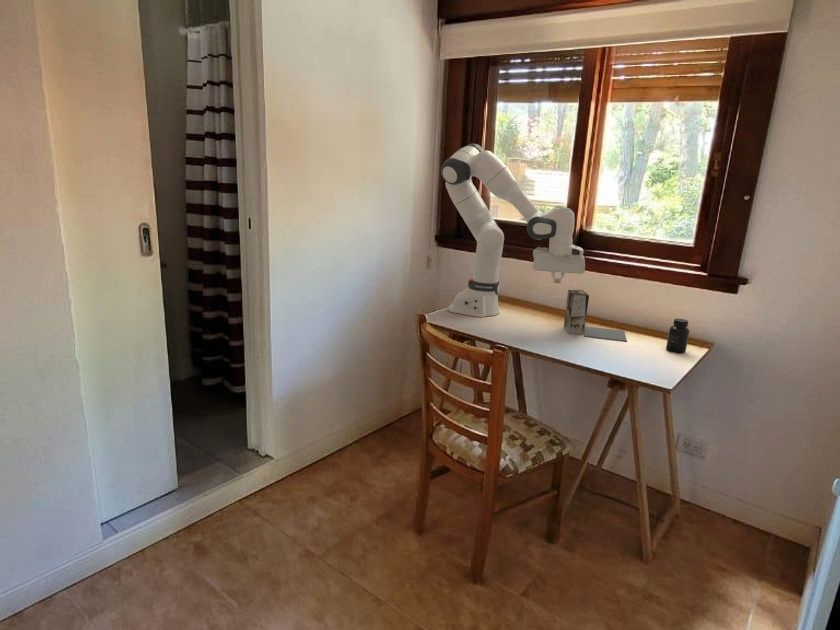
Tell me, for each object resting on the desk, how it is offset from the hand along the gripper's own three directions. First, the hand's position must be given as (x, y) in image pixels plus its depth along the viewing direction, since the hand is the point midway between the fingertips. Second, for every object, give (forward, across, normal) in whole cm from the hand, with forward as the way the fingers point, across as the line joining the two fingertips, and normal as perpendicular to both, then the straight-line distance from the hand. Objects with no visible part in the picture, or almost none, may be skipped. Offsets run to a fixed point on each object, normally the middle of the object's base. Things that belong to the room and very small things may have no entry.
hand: (557, 282), depth 220 cm
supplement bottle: (+20, +45, -10) cm, 51 cm away
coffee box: (+19, +8, 0) cm, 21 cm away
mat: (+20, +20, 0) cm, 28 cm away
